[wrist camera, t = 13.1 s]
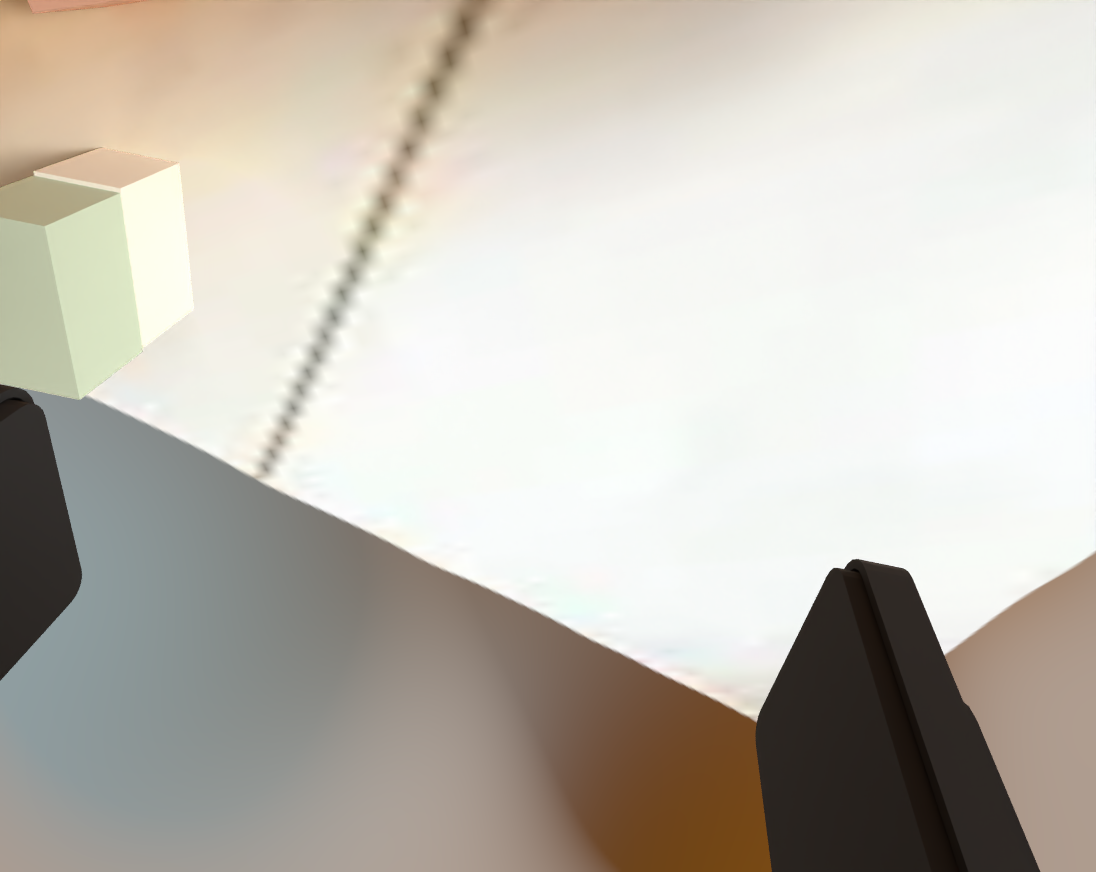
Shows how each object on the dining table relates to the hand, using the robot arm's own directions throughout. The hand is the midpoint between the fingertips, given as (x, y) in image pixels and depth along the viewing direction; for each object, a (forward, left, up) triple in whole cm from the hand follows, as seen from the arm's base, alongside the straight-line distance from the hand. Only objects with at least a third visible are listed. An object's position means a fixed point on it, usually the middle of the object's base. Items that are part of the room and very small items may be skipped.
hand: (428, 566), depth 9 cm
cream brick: (+10, -22, -30) cm, 39 cm away
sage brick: (+10, -22, -25) cm, 35 cm away
